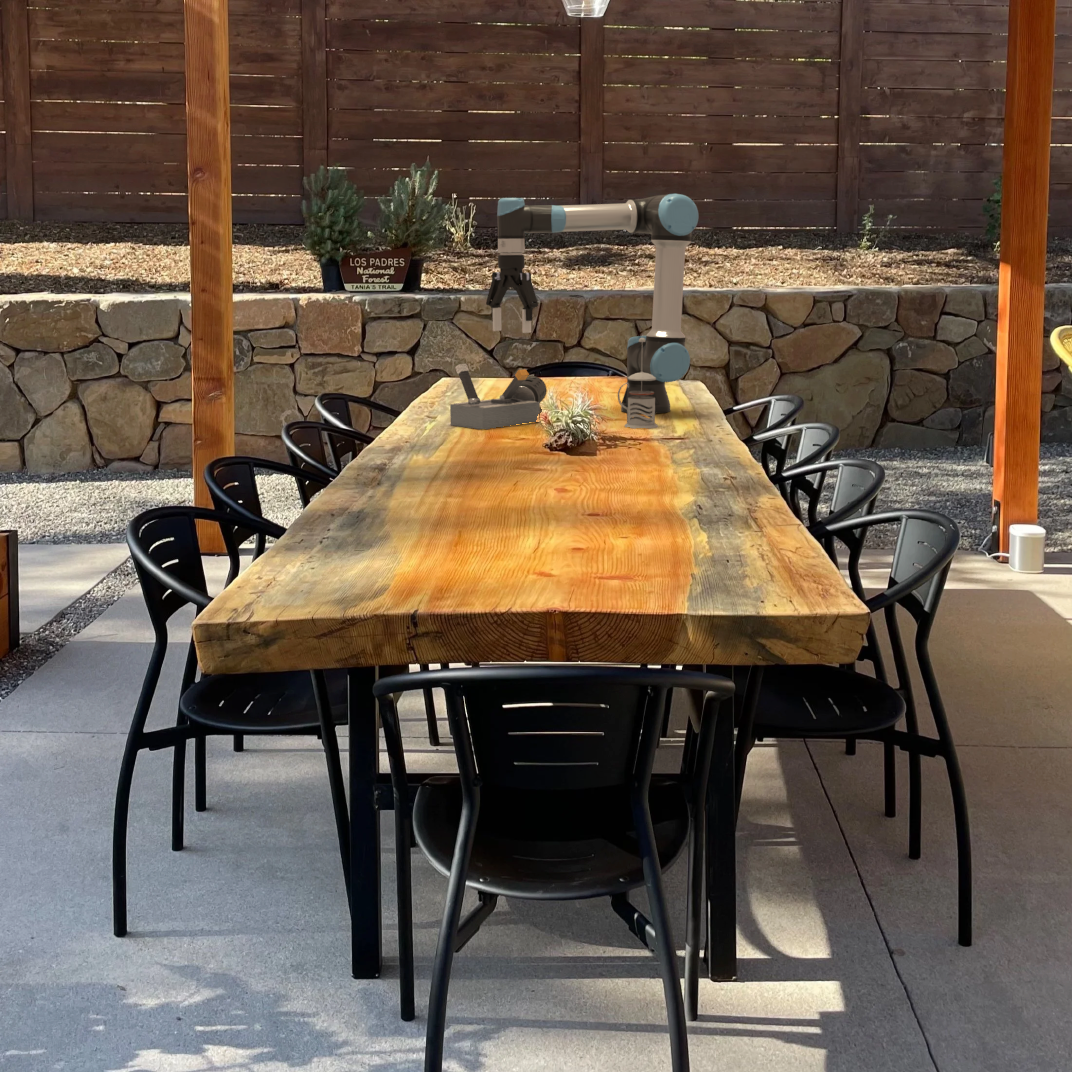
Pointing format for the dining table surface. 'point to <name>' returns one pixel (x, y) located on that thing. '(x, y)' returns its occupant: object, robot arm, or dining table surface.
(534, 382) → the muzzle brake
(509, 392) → the lever
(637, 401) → the french press
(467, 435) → the dining table surface
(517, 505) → the dining table surface
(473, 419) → the twin lever control box
